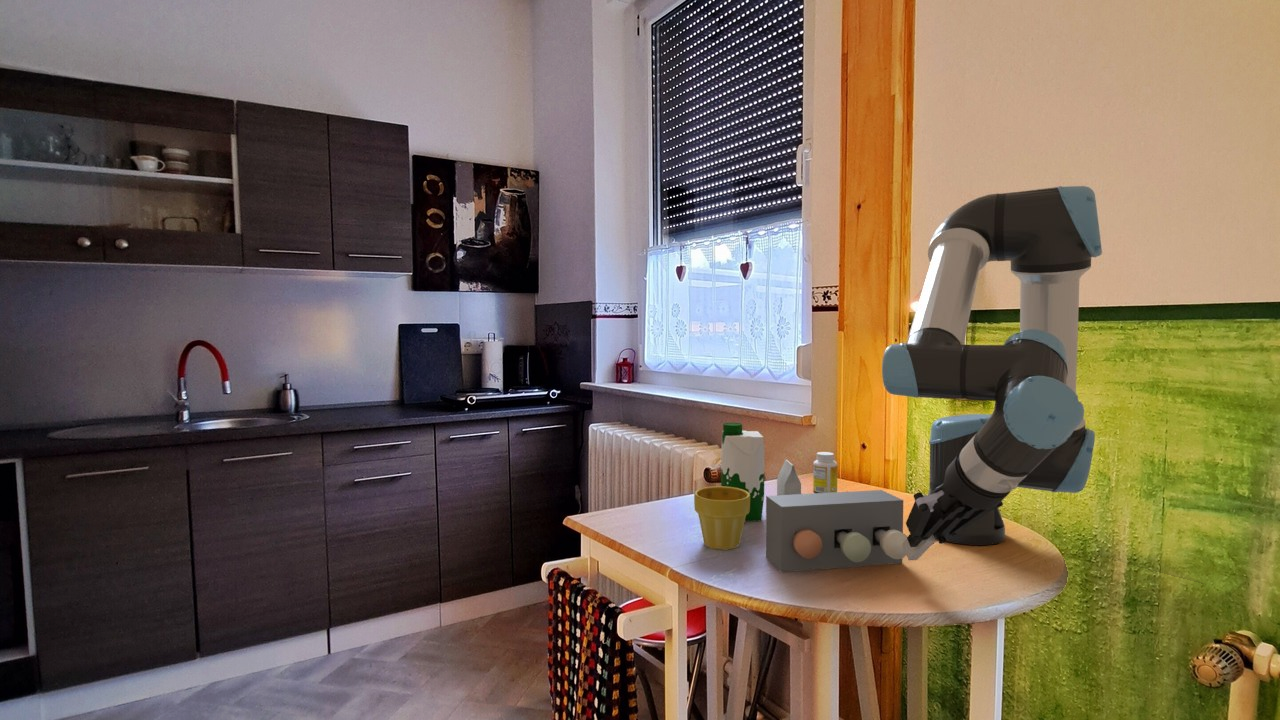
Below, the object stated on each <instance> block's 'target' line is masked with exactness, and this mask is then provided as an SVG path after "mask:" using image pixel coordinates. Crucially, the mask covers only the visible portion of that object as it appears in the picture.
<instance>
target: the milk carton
mask: <svg viewBox="0 0 1280 720" xmlns="http://www.w3.org/2000/svg"><path fill="white" fill-rule="evenodd" d="M722 425H723V426H722V427H723V429H722V432H721V449H720V450H721V456H720V462H721V463H720V466H721V467H720V469H721V471H720V472H721V473H720V475H721V476H720V486H726V487H734V488H739V489H743V490H745V491H747V492H749V494H750V511H749V513H748V514H747V515H746V518H745V522H762V517H763V508H764V500H765V443H764V438H765V437H764V436H763V435H762V434H761V433H760V432H759V430H749V431H748V430H743V423H740V422H724V423H723V424H722Z"/></svg>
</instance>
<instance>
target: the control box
mask: <svg viewBox="0 0 1280 720" xmlns="http://www.w3.org/2000/svg"><path fill="white" fill-rule="evenodd" d="M765 499H766V501H765V502H766V503H765V508H766V509H765V558H766V559H767V560H768V561H769V562H770V563H771V564H772V565H773V566H774V567H775V568H776V569H777V570H778V571H779V572H780V573H786V572H790V573H791V572H799V571H814V570H828V569H842V568H857V567H858V568H859V567H868V566H869V567H870V566H882V565H883V566H884V565H886V566H887V565H896V564H903V558H902V559H893V558H891V557H889V556H888V555H886V554H885V553H884V552H883V551H882V550H881V548H880V543H879V542H878V541H876V540H875V539H874V537H873V533H874V531H875V530H876V529H879V528H880V529H883V530H885V531H888V530H891V529H895V530H898V531H900V532H902V533H903V534H904V531H903V530H904V499H902V498H900V497H897V496H895V495H893V494H891V493H890V492H889V493H888V492H887V491H885V490H882V489H878V490H877V489H875V490H857V491H856V490H855V491H837V492H833V493H801V494H794V495H777V494H776V495H775V494H774V495H766V497H765ZM802 529H810V530H812V531H813V532H815V533H816V534H818V535H819V536H820V538H821V540H822V549H821V551H820V553H819V554H818V555H817V556H816V557H814V558H811V559H807V558H804V557H802V556H801V555H800V554H798V553H797V552H796V551H795V550H794V548H793V538H794V536H795V532H798V531H800V530H802ZM839 531H844V532H846V533H847V534H848V533H850V532H858V533H860V534H861V535H863V536H864V537H866V538H867V539H868V540H869V542H870V544H871V551H870V554H869V556H868V557H867V558H866V559H865V560H864V561H861V562H853V561H851V560H850V559H848V558H847V557H846V556H844V555H843V553H842V552H841V548H840V544H839V543H837V542H836V540H835V536H836V534H837V532H839Z"/></svg>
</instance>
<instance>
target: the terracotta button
mask: <svg viewBox="0 0 1280 720" xmlns="http://www.w3.org/2000/svg"><path fill="white" fill-rule="evenodd" d="M793 548H794V550H795V551H796V552H797V553H798V554H800V555H801V556H802V557H804V558H807V559H811V558H814V557H816V556H817V555H818V554H819V553H820V551H821V549H822V540H821V538H820V536H819V535H818V534H816V533H815V532H813V531H812V530H810V529H802V530H800V531H798V532H795V536H794V538H793Z"/></svg>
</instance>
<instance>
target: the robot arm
mask: <svg viewBox="0 0 1280 720" xmlns="http://www.w3.org/2000/svg"><path fill="white" fill-rule="evenodd" d="M1097 207H1098V206H1097V199H1096V194H1095V192H1094V190H1093V189H1092V188H1090V186H1084V185H1079V186H1078V185H1074V186H1073V185H1071V186H1069V185H1068V186H1063V185H1062V186H1061V185H1060V186H1056V187H1055V186H1054V187H1048V188H1047V187H1045V188H1039V189H1038V188H1037V189H1030V190H1023V191H1022V190H1021V191H1014V192H1005V193H1003V192H1002V193H991V194H986V195H983V196H980V197H977V198H975V199H973V200H970V201H968V202H967V203H964V204H963V205H962V206H960V207H958V209H956V210H954V211H953V212H952V213H951V214H950V215H948V217H946V218H945V219H944V220H943V222H941V224H940V225H939V226H938V227H937V229H936V230H935V232H934V233H933V235H932V236H931V240H930V242H929V245H928V250H927V257H928V261H929V266H928V269H927V270H928V271H927V274H926V278H925V280H924V284H923V287H922V289H921V293H920V297H919V300H918V303H917V306H916V310H915V313H914V316H913V319H912V323H911V327H910V329H909V333H908V336H907V339H906V343H905V342H901V343H893V344H889V346H887V347H886V349H885V350H884V353H883V357H882V364H881V374H882V376H881V377H882V383H883V387H884V389H885V391H886V392H888V393H889V394H891V395H893V396H894V395H895V396H902V397H903V396H904V397H912V398H915V399H918V398H927V399H948V400H949V399H952V400H953V399H955V400H956V399H957V400H970V401H988V402H989V401H991V402H994V407H993V411H992V413H991V414H989V413H988V414H985V413H979V414H978V413H975V414H974V413H973V414H958V415H957V414H956V415H950V416H944V417H939V418H937V419H935V420H934V421H933V423H932V424H931V425H930V426H931V427H930V438H929V441H928V443H929V487H928V489H929V490H928V494H923V492H916V493H914V494H913V499H914V503H913V505H912V508H911V509H910V512H909V515H908V517H907V520H906V522H905V525H906V527H907V529H908V532H909V534H908V535H907V539H906V540H905V541H904V542H903V544H902V546H903V548H904V551H905V553H906V557H907V560H908V561H918V560H919V559H920V558H921V557H922V556H923V555H924V553H925V552H926V551H928V549H929V548H930V547H931V546H932V545H934V544H935V543H936V542H937V541H938V543H939V545H940V544H945V543H947V542H948V543H954V544H960V545H968V546H970V545H971V546H989V545H990V546H991V545H997V544H1001V543H1003V542H1004V541H1005V539H1006V526H1005V523H1004V519H1003V516H1002V514H1001V511H1000V507H1003V505H1004V503H1003V500H1004V499H1005V498H1006V497H1007V496H1008V495H1009V494H1010V493H1011V492H1012V491H1013V490H1016V489H1017V488H1022V489H1030V490H1039V491H1044V492H1045V491H1046V492H1051V493H1058V492H1059V493H1069V494H1075V493H1079V492H1082V491H1083V490H1084V489H1085V488H1086V485H1087V482H1088V479H1089V475H1090V471H1091V465H1092V461H1093V452H1094V447H1095V439H1096V438H1095V437H1096V436H1095V435H1096V434H1095V431H1094V430H1092V429H1090V428H1086V419H1085V418H1084V416H1085V409H1084V408H1085V407H1084V404H1083V403H1082V402H1081V401H1080V400H1079V399H1078V398H1079V396H1078V394H1077V370H1078V369H1077V367H1078V335H1079V311H1080V310H1079V307H1080V282H1081V281H1080V279H1081V277H1082V276H1083V275H1084V274H1085V273H1087V272H1088V271H1089V270H1090V269H1091V268H1092V258H1097V257H1100V256H1101V255H1102V254H1103V250H1102V241H1101V230H1100V225H1099V216H1098V208H1097ZM990 262H1010V273H1012V274H1013V275H1014V276H1015V277H1017V279H1018V280H1019V281H1020V285H1019V287H1020V288H1019V289H1020V291H1019V292H1020V293H1019V294H1020V295H1019V296H1020V298H1019V299H1020V301H1019V308H1020V309H1019V310H1020V312H1019V332H1016V333H1013V334H1011V335H1010V336H1009V337H1008V338H1007V339H1006V340H1005V342H1004V344H964V343H965V341H966V340H965V338H966V334H967V329H968V326H969V320H970V316H971V312H972V306H973V301H974V298H975V297H974V296H975V294H976V293H975V292H976V288H977V284H978V278H979V274H980V271H981V270H982V269H983V268H984V267H985V266H986V265H987V263H990Z"/></svg>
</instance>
